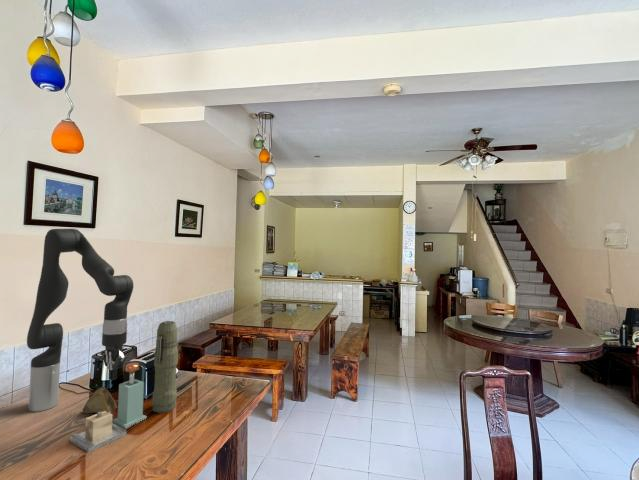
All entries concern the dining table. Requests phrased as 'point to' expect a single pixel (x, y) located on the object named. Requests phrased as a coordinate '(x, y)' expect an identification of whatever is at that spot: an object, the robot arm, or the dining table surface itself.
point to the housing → (98, 425)
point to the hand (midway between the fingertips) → (112, 379)
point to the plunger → (132, 371)
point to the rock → (100, 402)
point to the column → (130, 404)
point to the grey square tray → (94, 444)
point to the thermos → (165, 368)
